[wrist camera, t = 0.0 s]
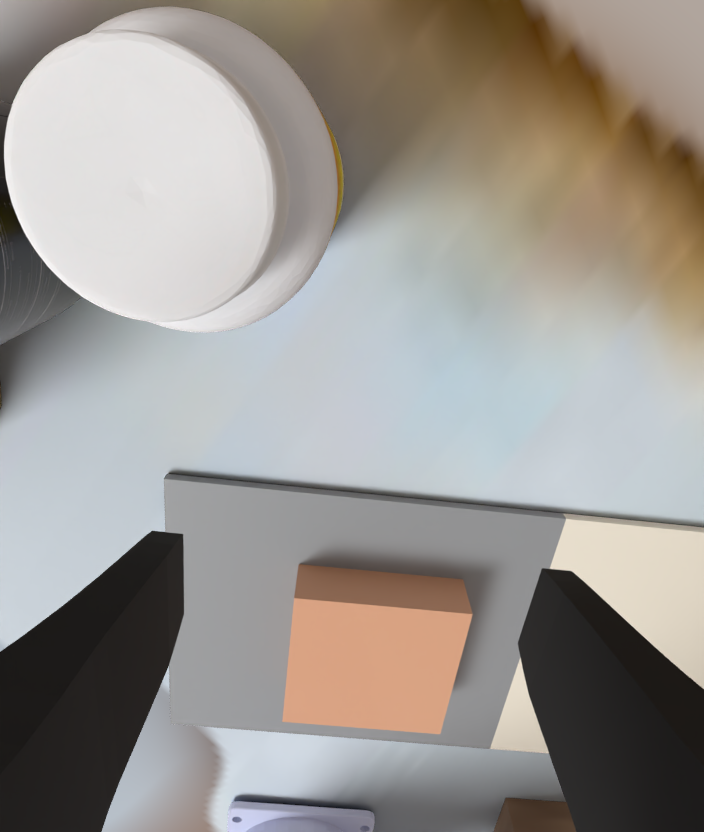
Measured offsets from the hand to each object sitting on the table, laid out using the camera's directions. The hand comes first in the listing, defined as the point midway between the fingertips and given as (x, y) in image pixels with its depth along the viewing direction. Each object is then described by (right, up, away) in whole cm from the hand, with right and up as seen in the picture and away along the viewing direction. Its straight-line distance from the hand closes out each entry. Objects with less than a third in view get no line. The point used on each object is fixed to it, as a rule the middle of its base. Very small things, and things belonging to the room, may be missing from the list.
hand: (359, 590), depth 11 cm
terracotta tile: (+1, -6, +13) cm, 15 cm away
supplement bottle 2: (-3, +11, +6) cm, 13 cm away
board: (+6, -7, +14) cm, 16 cm away
